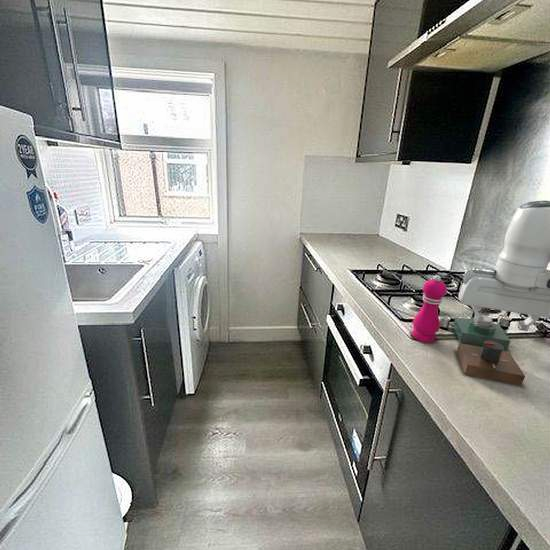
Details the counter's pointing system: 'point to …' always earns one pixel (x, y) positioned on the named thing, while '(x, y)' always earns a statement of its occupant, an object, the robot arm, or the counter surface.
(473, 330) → the dispenser
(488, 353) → the lock dial
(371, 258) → the counter surface
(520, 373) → the lock base
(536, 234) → the robot arm
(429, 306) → the pepper mill
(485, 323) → the pump
